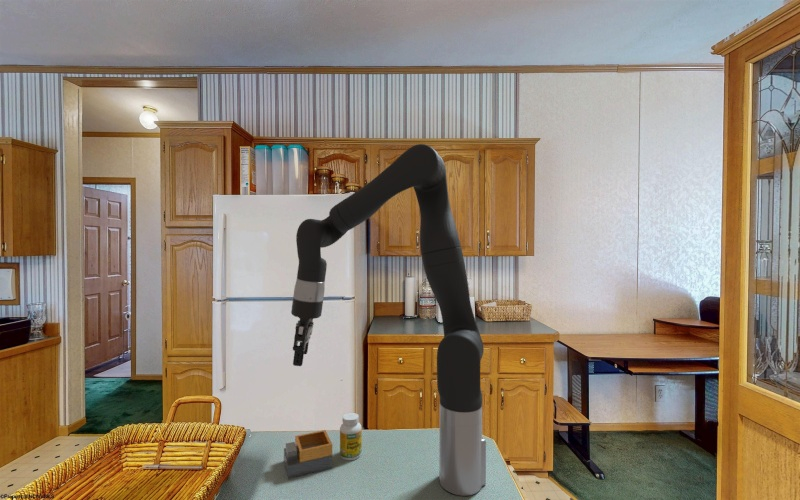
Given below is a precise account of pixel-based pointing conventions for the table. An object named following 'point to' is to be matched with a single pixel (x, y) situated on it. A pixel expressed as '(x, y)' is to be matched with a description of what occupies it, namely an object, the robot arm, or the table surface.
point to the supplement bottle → (350, 437)
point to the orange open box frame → (308, 454)
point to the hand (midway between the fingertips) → (300, 359)
